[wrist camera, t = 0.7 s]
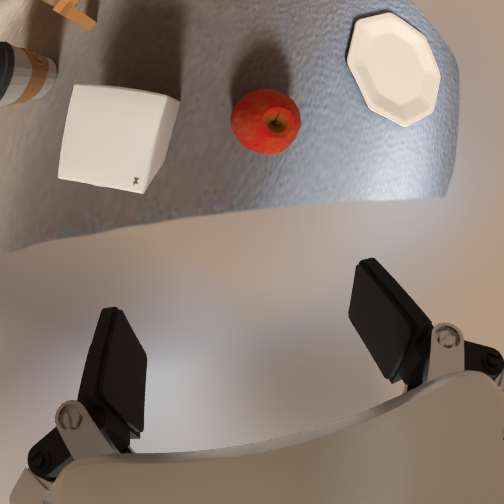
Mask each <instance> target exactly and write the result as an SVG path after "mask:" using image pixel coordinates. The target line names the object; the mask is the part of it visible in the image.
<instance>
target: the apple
mask: <svg viewBox="0 0 504 504" xmlns="http://www.w3.org/2000/svg"><path fill="white" fill-rule="evenodd" d="M230 121H231V126H232V129H233V131H234V134H235V135H236V137H237V138H238V140H239V141H240V142H241V143H242V145H243V146H245V147H246V148H248V149H250V150H253V151H255V152H257V153H261V154H268V155H271V154H278V153H280V152H282V151H283V150H285V149H286V148H287V147H288V146H289V145H290V144H291V143H292V142H293V141H294V139H295V138H296V136H297V134H298V132H299V129H300V127H301V118H300V113H299V109H298V107H297V106H296V104H295V102H294V101H293V100H292V99H291V98H289V97H288V96H287V95H285V94H284V93H282V92H279V91H276V90H273V89H259V90H255V91H252V92H249V93H248V94H246V95H245V96H243V97H242V98H241V99H240V100H239V101H238V102H237V103H236V104H235V106H234V108H233V109H232V112H231V117H230Z"/></svg>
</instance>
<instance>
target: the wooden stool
mask: <svg viewBox="0 0 504 504" xmlns="http://www.w3.org/2000/svg"><path fill="white" fill-rule="evenodd" d="M42 1H44V2H46V3H47V4H49V5H51V6H53V7H55V6H56V5H57V4H58V2H59V1H60V0H42Z"/></svg>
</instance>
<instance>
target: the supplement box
mask: <svg viewBox="0 0 504 504" xmlns="http://www.w3.org/2000/svg"><path fill="white" fill-rule="evenodd" d="M179 107H180V101H178V100H176V99H174V98H172V97H170V96H167V95H164V94H160V93H155V92H150V91H145V90H139V89H133V88H125V87H117V86H107V85H92V84H75V85H74V89H73V92H72V96H71V100H70V105H69V109H68V114H67V119H66V124H65V130H64V135H63V141H62V148H61V154H60V162H59V170H58V178H60V179H66V180H72V181H78V182H83V183H89V184H93V185H96V186H105V187H111V188H116V189H121V190H126V191H131V192H137V193H144V192H145V190H146V188H147V187H148V185H149V184H150V182H151V181H152V179H153V178H154V176H155V174H156V173H157V172H158V170H159V169H160V167H161V166H162V164H163V163H164V161H165V157H166V153H167V149H168V146H169V142H170V138H171V135H172V131H173V128H174V124H175V121H176V118H177V114H178V110H179Z"/></svg>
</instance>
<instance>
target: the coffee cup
mask: <svg viewBox="0 0 504 504" xmlns="http://www.w3.org/2000/svg"><path fill="white" fill-rule="evenodd" d="M56 76H57V69H56V65H55V63H54V61H53V60H51V59H50V58H47V57H45V56H43V55H41V54H38V53H35V52H32V51H30V50H27V49H24V48H18V47H15V46H12V45H10V44H9V43H7V42H0V107H3V106H8V105H12V104H17V103H21V102H26V101H28V100H33V99H38V98H40V97H42V96H44V95H45V94H46V93H47V92H48V91H49V90H50V89H51V88H52V86H53V84H54V82H55V80H56Z"/></svg>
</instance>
